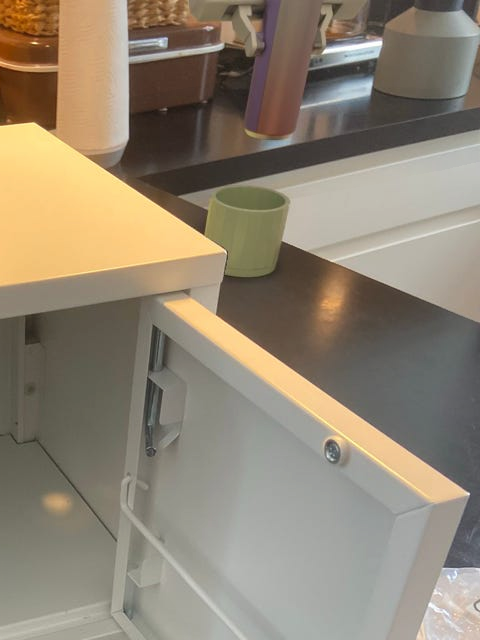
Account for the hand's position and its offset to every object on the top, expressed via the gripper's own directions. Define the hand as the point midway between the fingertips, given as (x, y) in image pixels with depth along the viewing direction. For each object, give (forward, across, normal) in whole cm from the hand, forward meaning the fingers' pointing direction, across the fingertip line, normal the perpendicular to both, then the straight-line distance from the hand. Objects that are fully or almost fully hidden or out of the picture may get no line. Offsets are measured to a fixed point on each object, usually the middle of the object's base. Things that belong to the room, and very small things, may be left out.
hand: (286, 52), depth 104 cm
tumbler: (+15, 0, +18) cm, 24 cm away
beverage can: (+6, 0, +6) cm, 9 cm away
